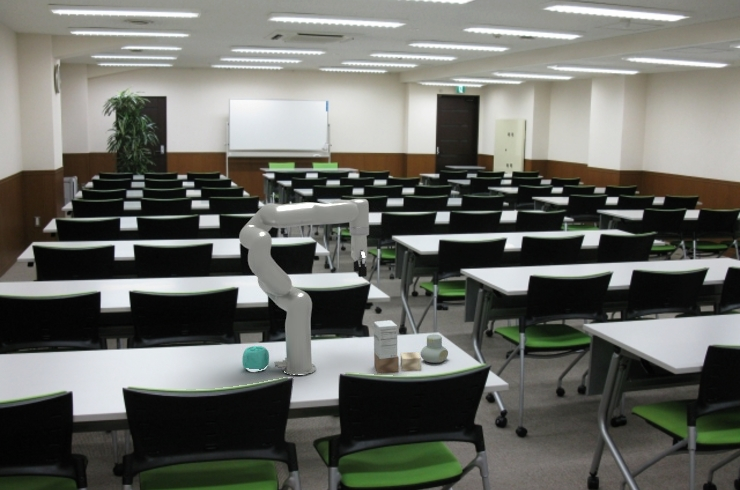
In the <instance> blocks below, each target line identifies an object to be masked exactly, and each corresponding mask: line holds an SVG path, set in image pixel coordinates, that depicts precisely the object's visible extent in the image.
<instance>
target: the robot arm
mask: <svg viewBox="0 0 740 490" xmlns="http://www.w3.org/2000/svg"><path fill="white" fill-rule="evenodd" d="M369 209H370V208H369V201H368V200H367V199H366V198H354V199H353V198H352V199H335V200H333V201H331V202H330V203H319V202H309V201H307V202H305V201H304V202H296V203H294V202H293V203H285V204H277V203H273V202H268V203H266V204H264V205H263V206H261V207H260V209H259V210H258V211H257V212H256V213H255V214H254V215H253V216H252V217H251V218H250V220H249V221H248V222H247V223H246V224H245V225H244V226H243V227H242V229H241V230H240V232H239V237H238V238H239V242H240V245H242V246H243V247H244V248H246V249H247V250H248V254H247V262H248V266H249V269H250V270H251V272H252V273H253V274H254V275H255V276H256V277H257V284H258V285H259V288H260V289H261V290H262V291H263V292H264V293H265V294H266V295H267V297H269V298H270V299H271V300H272V301H273V302H274V303H275V305H276V306H278V308H280V309H282V310H284V311H285V312H286V319H285V322H284V327H285V328H284V331H285V349H286V350H285V353H286V355H285V358H284V359H282V360H281V361H277V360H276V361H274V367H278V369H282V371H283V370H284V371H285V372H286V373H288V374H291V375H293V374H295V375H298V374H308V373H311V374H313V373H314V371H315V372H316V369H317V367H316V365H315V364H313V361H312V360H313V359H312V333H311V317H312V309H313V302H312V298H311V297H310V295H309V293H307V292H305V291H304V290H302V289H299V288H297V287H296V286H294V285H293V283H292V279H291V278H290V276H289V275H288V273H286V272H285V271H284V270H283V269H282V268H281V267H280V266H279V265H278V263H276V261H275V259H273V257H272V255H271V249H272V243H273V241H272V236H271V234H270V233H269V231H271V229H272V228H275V229H285V228H294V227H303V226H319V225H334V224H345V223H349V236H351V239H350V241H351V244H350V257H351V259H352V260H353V272H354V273H355V272H356V273H358V274H357V276H358V277H359V278H365V277H367V275H368V274H367V270H368V269H367V267H368V266H367V260H368V239H367V236H369V235H370V217H369V215H370V212H369ZM312 372H313V373H312ZM291 375H290V376H291ZM308 375H309V374H308Z"/></svg>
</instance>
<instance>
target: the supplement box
mask: <svg viewBox="0 0 740 490" xmlns="http://www.w3.org/2000/svg"><path fill="white" fill-rule="evenodd" d="M373 340H374V341H373V354H374V353H375V354H376V355H377V356H378V357H379V359H384V358H394V357H397V356H398V325H397V324H396V323H395V322H394V321H393V320H392V319H389V320H379V321H378V320H377V321H374V322H373Z"/></svg>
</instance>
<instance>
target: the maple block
mask: <svg viewBox="0 0 740 490" xmlns="http://www.w3.org/2000/svg"><path fill="white" fill-rule="evenodd" d="M421 359H422V357H421V354H420V353H419V351H418V352H417V351H415V352H414V351H413V352H412V351H411V352H400V367H401V371H402V372H409V371H411V372H412V371H413V372H414V371H421V365H422V363H421V361H422V360H421Z"/></svg>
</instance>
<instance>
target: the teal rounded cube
mask: <svg viewBox="0 0 740 490" xmlns="http://www.w3.org/2000/svg"><path fill="white" fill-rule="evenodd" d="M241 359H242V361H241V363H242V367H243V368H244V369H245V368H249V369H259V370H261V369H264V368H265V367H266V366H267V365H268V366H269V363H270V353H269V350H268V349H267V348H266V347H265V346H261V345H253V346H249V347H247V348H245V349H244V350H243V354H242V358H241Z"/></svg>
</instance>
